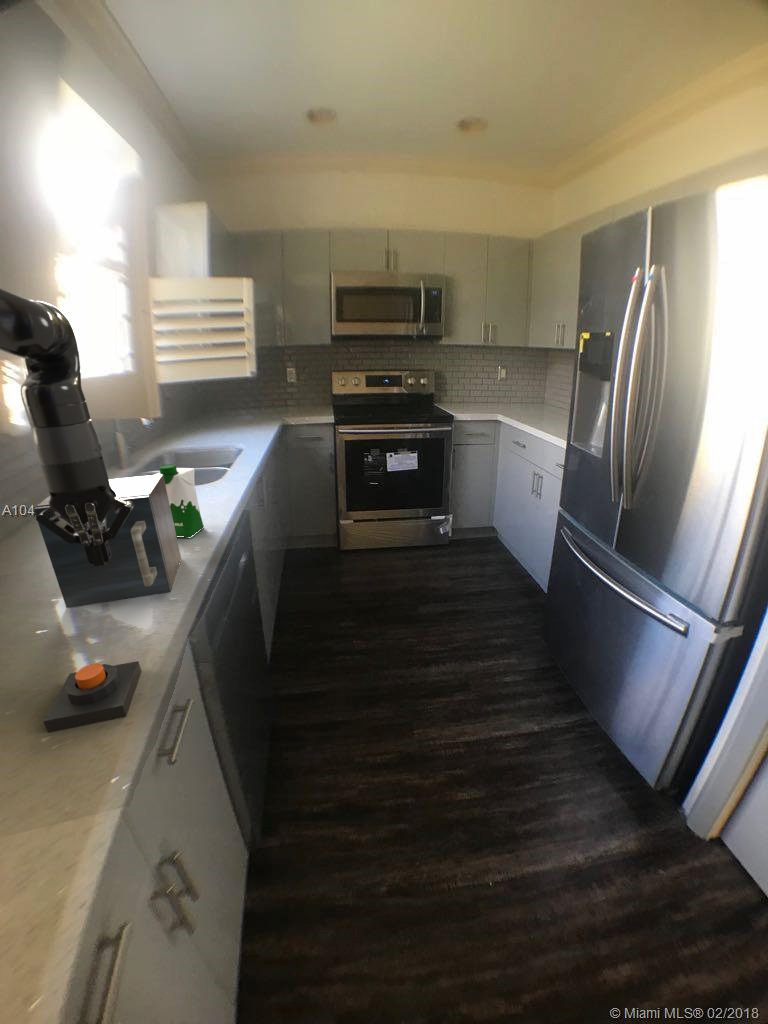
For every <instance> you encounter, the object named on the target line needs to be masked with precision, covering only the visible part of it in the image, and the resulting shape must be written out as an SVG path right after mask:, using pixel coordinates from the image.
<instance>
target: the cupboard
mask: <svg viewBox="0 0 768 1024" xmlns="http://www.w3.org/2000/svg"><path fill="white" fill-rule="evenodd" d="M108 479H109V483H110V486H111V488H112V489H113V490H114V491H115V493H116V497H117V498H129V497H139V496H148V495H149V496H150V500H151V504H152V508H153V513H154V517H155V521H156V526H157V530H158V534H159V538H160V543H161V547H162V551H163V556H164V560H165V564H166V569H167V573H168V577H169V582H170V586H171V590H173V587H174V584H175V581H174V580H176V578H175V577H177V575H176V574H178V571H179V568H180V565H179V563H180V564H181V562H180V560H181V561H182V556H181V551H180V550H181V549H180V546H179V542H178V538H177V536H176V532H175V527H174V522H173V518H172V513H171V508H170V504H169V499H168V495H167V490H166V485H165V481H164V476H163V474H160V475H155V474H152V475H139V476H131V477H130V476H129V477H119V478H108ZM49 499H50V495H49V496H47V497H45V498H44V500H42V501H41V502H40V503H38V504H37V505H36V506H35V508H36V507H44V506H50V505H49ZM178 567H179V568H178ZM177 570H178V571H177Z"/></svg>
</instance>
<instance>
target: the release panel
mask: <svg viewBox="0 0 768 1024" xmlns="http://www.w3.org/2000/svg"><path fill="white" fill-rule="evenodd" d="M101 665H102V666H103V668H104V671H105V674H106V678H105V680H104V681H103V682H102V683H100V684H99V685H97V686H95V687H92V688H89V689H80V688H79V687H78V685H77V682H76V679H75V675H76V673H77V672H78V671H77V672H71V673H69V674H68V676H67V677H66V679H65V681H64V683H63V685H62V687H61V689H60V690H59V692H58V694H57V696H56V697H55V699H54V701H53V703H52V704H51V707H50V708H49V710H48V712H47V714H46V716H45V718H44V719H43V725H44V728H45V729H46V731H47V733H48V734H50V733H55V732H59V731H64V730H68V729H74V728H78V727H83V726H88V725H92V724H93V725H94V724H98V723H103V722H108V721H112V720H117V719H123V718H126V717H127V716H128V712H129V710H130V707H131V704H132V701H133V698H134V695H135V692H136V689H137V686H138V683H139V680H140V677H141V674H142V668H141V665H140V661H138V660H137V661H132V662H126V663H119V664H115V665H111V664H107V663H103V664H101Z"/></svg>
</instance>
